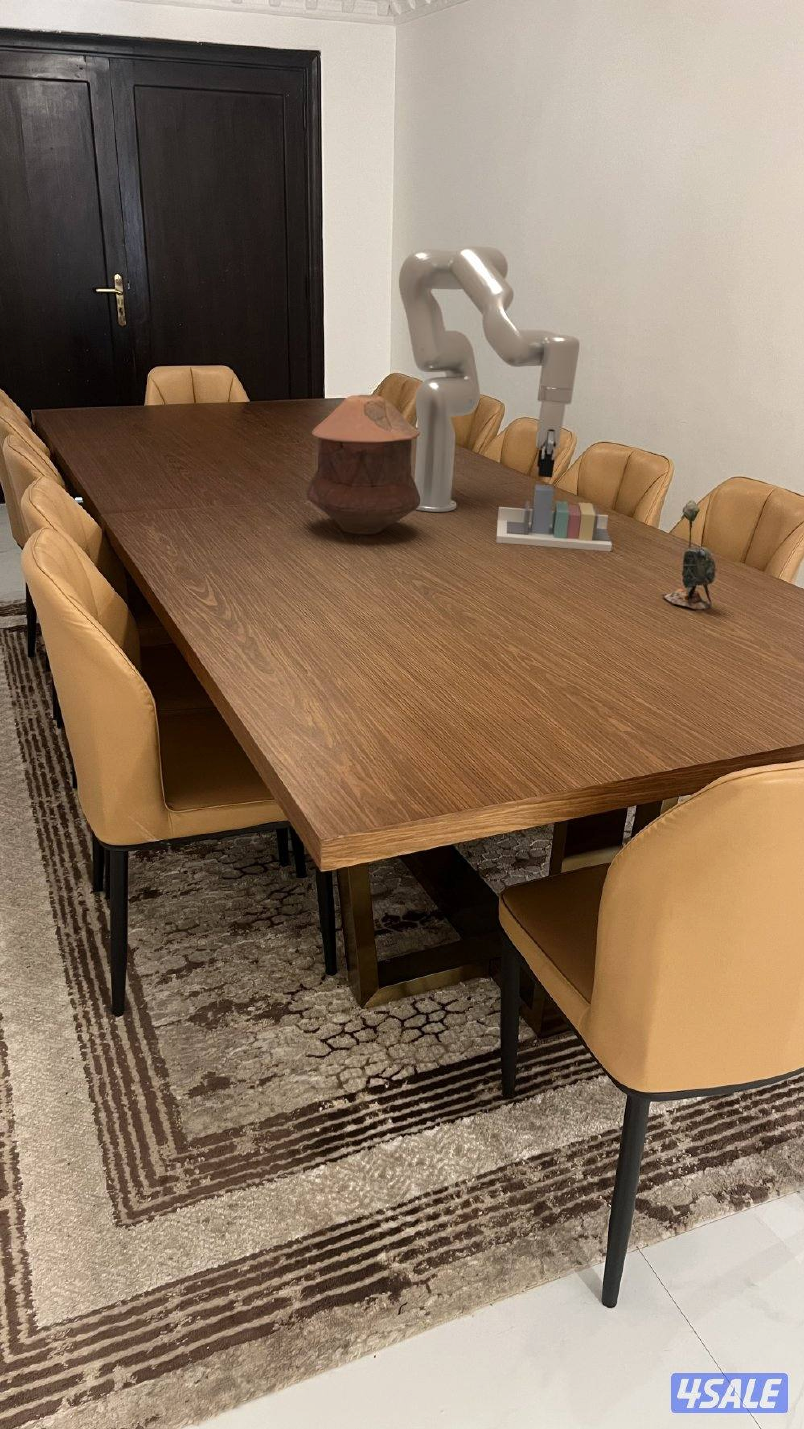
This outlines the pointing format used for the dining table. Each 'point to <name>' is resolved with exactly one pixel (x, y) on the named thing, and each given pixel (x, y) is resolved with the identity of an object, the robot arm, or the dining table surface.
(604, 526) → the book shelf
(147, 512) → the dining table surface
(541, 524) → the boxed book
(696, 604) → the green and brown figurine
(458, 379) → the robot arm
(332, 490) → the pottery vessel
